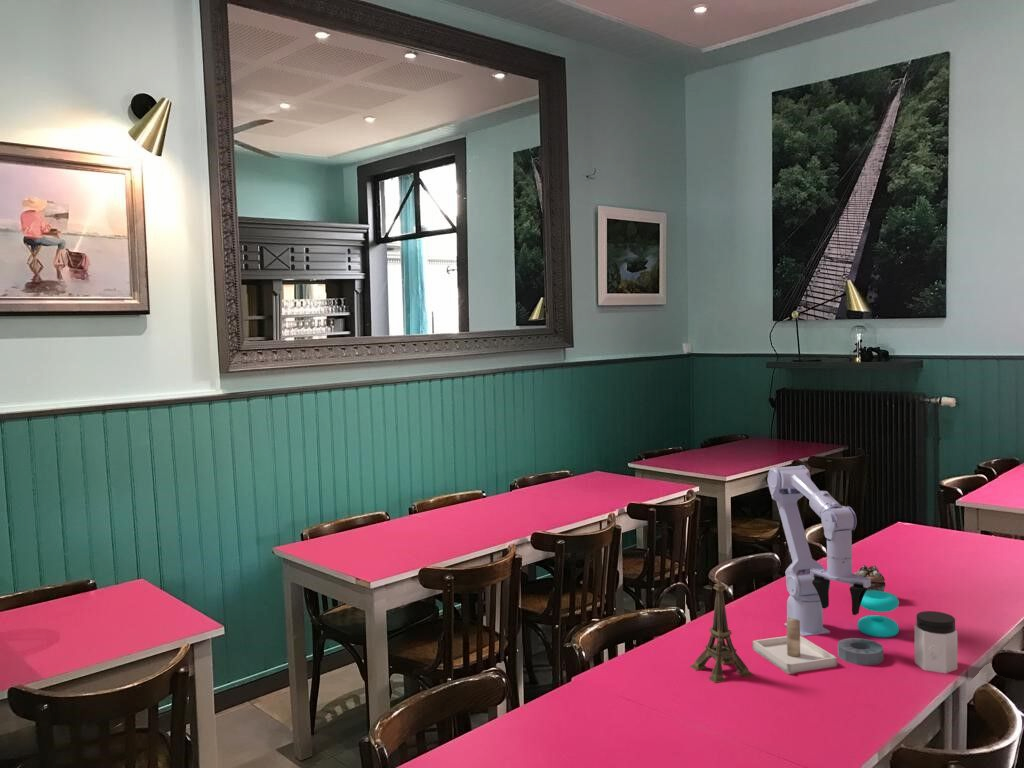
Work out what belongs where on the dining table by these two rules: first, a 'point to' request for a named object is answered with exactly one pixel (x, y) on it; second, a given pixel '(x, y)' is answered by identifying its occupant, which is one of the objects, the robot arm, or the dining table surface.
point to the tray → (807, 660)
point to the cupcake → (872, 578)
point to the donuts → (875, 623)
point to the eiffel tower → (720, 643)
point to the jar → (936, 642)
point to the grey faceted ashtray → (860, 651)
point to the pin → (793, 637)
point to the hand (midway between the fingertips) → (840, 610)
